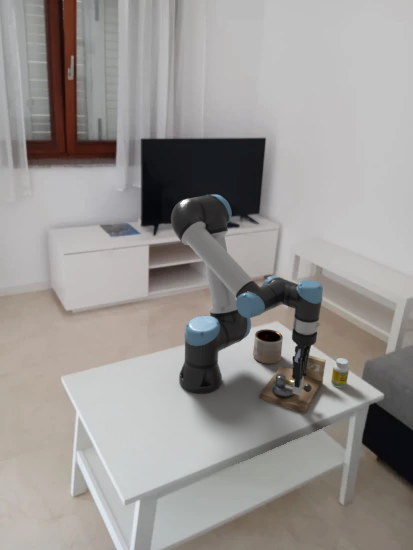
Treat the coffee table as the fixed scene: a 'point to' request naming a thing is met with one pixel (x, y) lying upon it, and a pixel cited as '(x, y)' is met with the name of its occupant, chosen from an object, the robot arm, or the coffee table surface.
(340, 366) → the supplement bottle
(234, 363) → the coffee table surface
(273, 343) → the planter
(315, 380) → the stand
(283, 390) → the ball knob lever
